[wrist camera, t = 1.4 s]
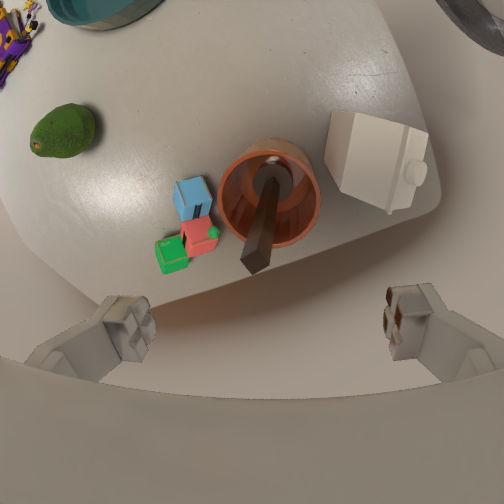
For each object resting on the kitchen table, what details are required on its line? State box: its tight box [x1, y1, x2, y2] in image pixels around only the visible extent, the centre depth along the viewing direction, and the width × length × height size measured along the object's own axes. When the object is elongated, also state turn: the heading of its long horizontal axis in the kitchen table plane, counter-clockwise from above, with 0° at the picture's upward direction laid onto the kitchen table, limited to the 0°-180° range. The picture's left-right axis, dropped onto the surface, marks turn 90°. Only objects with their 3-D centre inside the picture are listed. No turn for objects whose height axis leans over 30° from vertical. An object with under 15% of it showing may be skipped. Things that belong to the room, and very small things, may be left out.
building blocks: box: [155, 175, 220, 275], centre depth 42 cm, size 8×8×12 cm
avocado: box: [30, 103, 95, 158], centre depth 35 cm, size 8×8×12 cm
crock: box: [217, 138, 321, 248], centre depth 36 cm, size 11×11×11 cm
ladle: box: [240, 160, 293, 275], centre depth 30 cm, size 5×5×23 cm
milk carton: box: [324, 110, 428, 215], centre depth 29 cm, size 7×7×19 cm
